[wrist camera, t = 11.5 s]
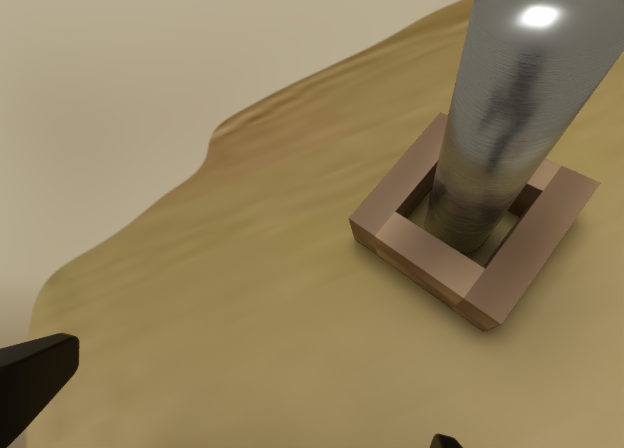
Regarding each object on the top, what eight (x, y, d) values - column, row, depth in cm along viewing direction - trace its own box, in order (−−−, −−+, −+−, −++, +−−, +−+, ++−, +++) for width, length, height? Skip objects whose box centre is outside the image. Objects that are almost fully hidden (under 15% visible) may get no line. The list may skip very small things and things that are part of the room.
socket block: (568, 210, 18) (601, 182, 15) (483, 331, 16) (501, 324, 13) (434, 144, 21) (440, 112, 19) (354, 237, 20) (348, 217, 17)
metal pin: (502, 226, 18) (697, -25, 6) (457, 266, 18) (581, 74, 6) (453, 189, 20) (540, -65, 8) (411, 225, 19) (441, 11, 8)
